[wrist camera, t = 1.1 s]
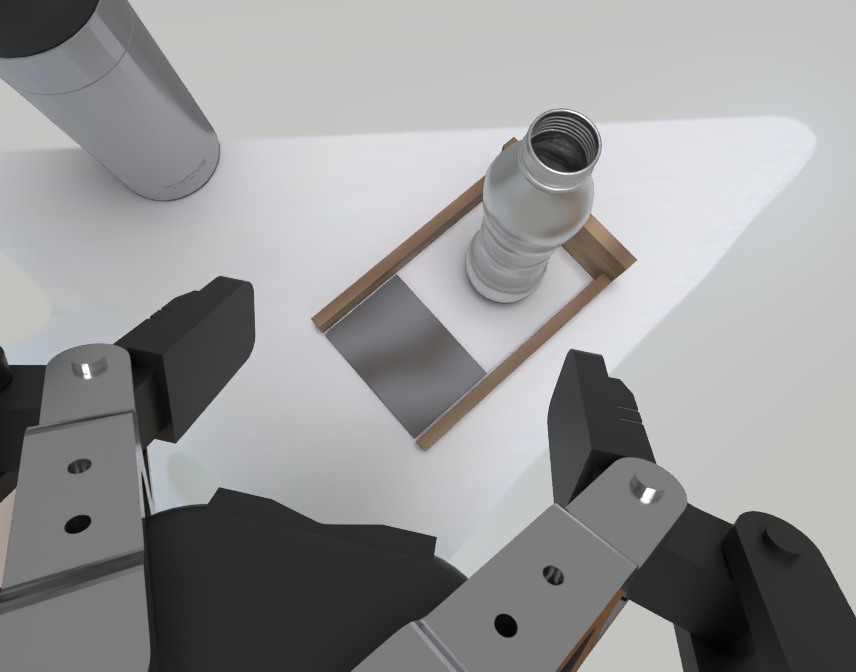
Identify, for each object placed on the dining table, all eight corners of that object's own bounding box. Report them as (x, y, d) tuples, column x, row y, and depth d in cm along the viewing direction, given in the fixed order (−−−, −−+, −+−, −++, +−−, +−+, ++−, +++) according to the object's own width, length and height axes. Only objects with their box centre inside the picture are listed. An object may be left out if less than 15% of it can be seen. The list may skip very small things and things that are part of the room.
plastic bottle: (505, 324, 43) (577, 232, 24) (446, 273, 44) (469, 142, 24) (553, 271, 44) (660, 140, 25) (495, 222, 45) (553, 57, 25)
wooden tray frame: (315, 324, 43) (302, 309, 38) (503, 168, 46) (513, 136, 41) (424, 450, 41) (425, 452, 36) (613, 279, 44) (637, 259, 39)
